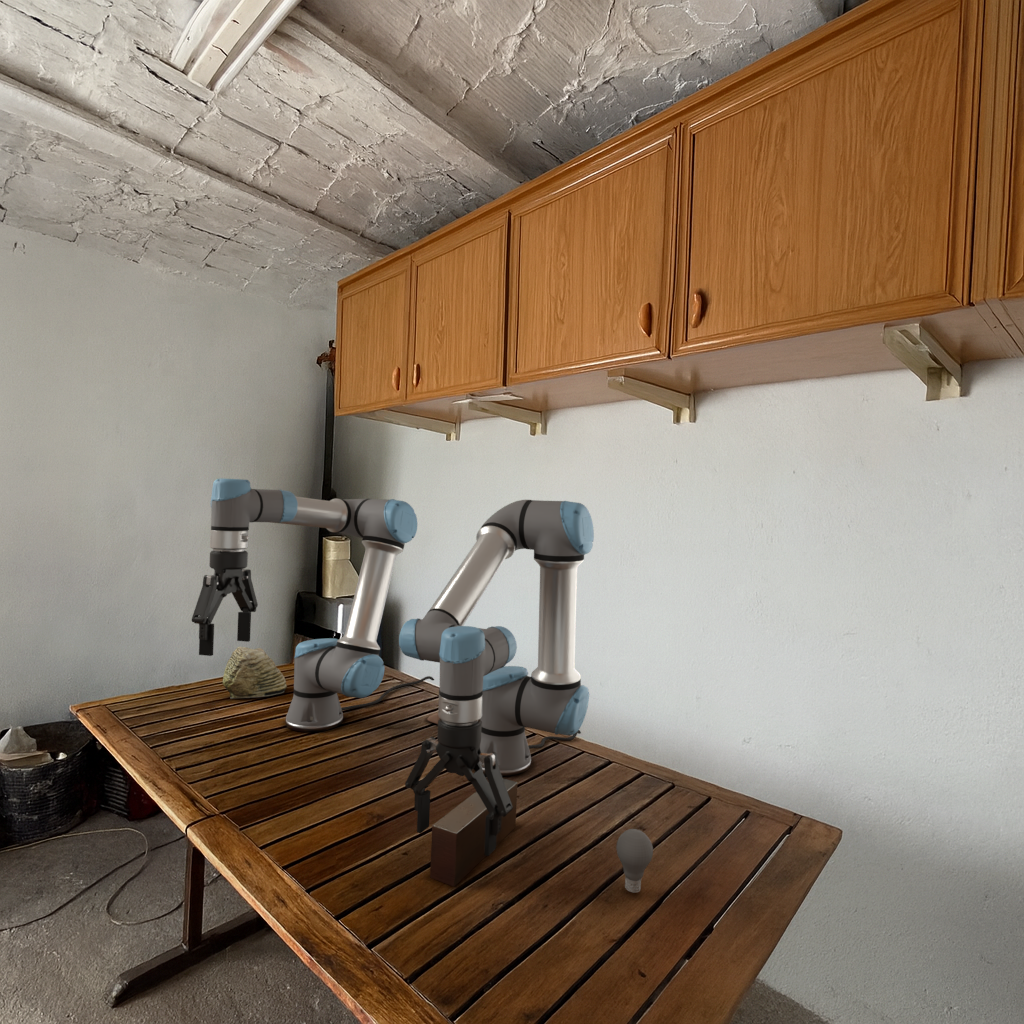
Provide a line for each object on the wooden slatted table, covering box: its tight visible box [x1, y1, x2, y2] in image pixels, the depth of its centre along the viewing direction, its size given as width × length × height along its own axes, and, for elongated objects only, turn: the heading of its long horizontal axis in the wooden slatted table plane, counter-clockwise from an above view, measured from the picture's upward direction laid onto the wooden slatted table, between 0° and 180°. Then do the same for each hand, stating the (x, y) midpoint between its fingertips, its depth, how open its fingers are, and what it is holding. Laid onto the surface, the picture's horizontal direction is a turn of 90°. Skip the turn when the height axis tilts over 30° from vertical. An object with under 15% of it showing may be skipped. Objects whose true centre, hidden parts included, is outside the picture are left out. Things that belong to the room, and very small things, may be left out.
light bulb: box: [615, 828, 654, 894], centre depth 106 cm, size 6×6×10 cm
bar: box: [429, 778, 518, 887], centre depth 116 cm, size 22×5×9 cm, turn 153°
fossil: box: [222, 646, 288, 699], centre depth 198 cm, size 9×18×15 cm, turn 132°
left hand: (225, 647), depth 137 cm, fingers open, 13 cm apart
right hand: (455, 840), depth 109 cm, fingers open, 13 cm apart
